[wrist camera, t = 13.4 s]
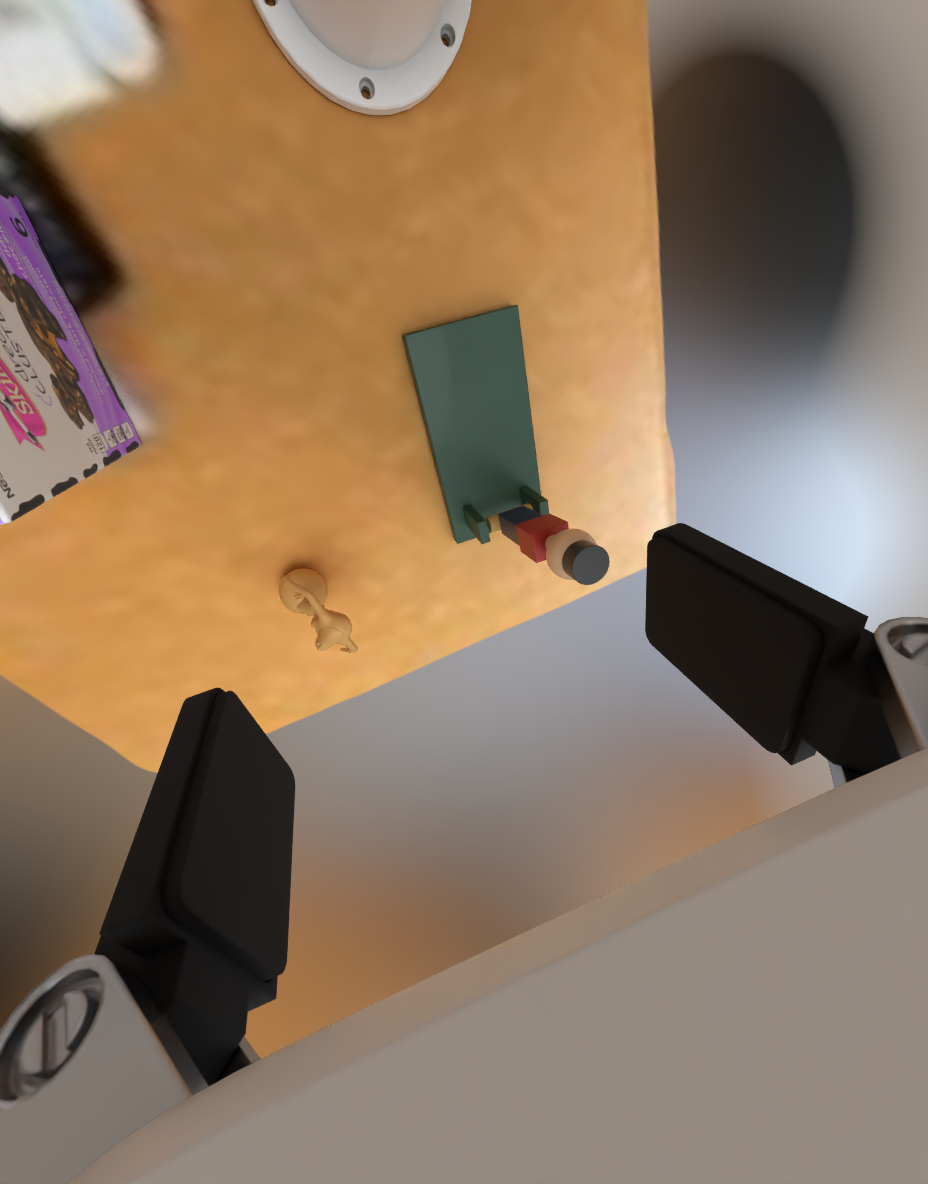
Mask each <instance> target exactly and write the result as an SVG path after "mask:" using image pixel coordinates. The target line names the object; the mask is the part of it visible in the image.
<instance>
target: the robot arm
mask: <svg viewBox="0 0 928 1184" xmlns="http://www.w3.org/2000/svg"><path fill="white" fill-rule="evenodd" d="M274 2H275V6H269V5H267V4H266V3H265V0H253V3H254V5H255V7H256V9H257V11H258V13H259V15H260V16H261V18H262V20H263V22H264V24H265V26H266V28H267V30H268V31H269V33H270V35H271V37H272V38H273V40H274V41H275V42H276V44H277V45H278V47H279V48H280V50H281V51H282V52H283V54H284V55H285V57H286V58H287V60H288V61H289V62H290V63H291V65H292V66H293V67H294V68H295V69H296V70H297V71H298V72H299V73H300V74H301V75H302V76H303V77H304V78H305V79H306V81H307V82H308V83H309V84H310V85H312V86H313V87H314V88H316V89H317V90H318V91H319V92H321V93H322V94H323V95H325V96H326V97H327V98H329V99H330V100H332V101H334V102H336V103H338V104H340V105H342V106H344V107H346V108H348V109H350V110H352V111H356V112H360V113H364V114H368V115H392V114H395V113H398V112H402V111H405V110H408V109H410V108H412V107H413V106H415V105H416V104H418V103H419V102H421V101H422V100H424V99H426V98H427V97H428V95H429V94H430V93H431V92H432V91H433V90H434V89H435V88H436V87H437V86H438V85H439V84H440V82H441V81H442V79H443V77H444V76H445V74H446V72H447V71H448V69H449V67H450V66H451V64H452V62H453V60H454V58H455V56H456V54H457V52H458V50H459V48H460V45H461V42H462V39H463V36H464V32H465V29H466V26H467V22H468V19H469V15H470V9H471V2H472V0H274ZM441 38H445V39H446V40H447V42H448V47H447V46H446V45H444V44H443V42H442V40H441ZM362 90H367V91H368V93H369V95H370V98H369V99H366V98H364V97H363V96H362V93H361V92H362ZM867 619H868V616H866V615H864V614H862V613H860V612H858V611H856V610H854V609H852V608H850V607H848V606H846V605H844V604H842V603H840V602H838V601H836V600H834V599H832V598H830V597H828V596H826V595H824V594H822V593H820V592H818V591H816V590H814V589H813V588H811V587H809V586H807V585H804V584H803V583H801V582H799V581H797V580H795V579H793V578H791V577H789V576H787V575H785V574H783V573H781V572H779V571H777V570H775V569H773V568H771V567H769V566H767V565H765V564H763V563H761V562H759V561H757V560H755V559H753V558H751V557H749V556H747V555H745V554H743V553H741V552H739V551H737V550H735V549H734V548H732V547H730V546H727V545H726V544H724V543H721V542H720V541H718V540H716V539H714V538H712V537H710V536H708V535H706V534H704V533H702V532H700V531H698V530H696V529H694V528H692V527H690V526H688V525H686V524H683V523H678V524H675V525H672V526H670V527H667V528H664V529H661V530H658V531H656V532H655V533H654V535H653V537H652V540H650V541H649V543H648V546H647V583H646V624H645V631H646V636H647V638H648V640H649V642H650V643H651V644H652V646H654V647H655V648H656V649H657V650H658V651H659V652H660V653H661V654H662V655H663V656H664V657H665V658H667V659H668V660H669V661H670V662H671V663H672V664H673V665H674V666H675V667H676V668H678V669H679V670H680V671H681V672H682V673H683V674H684V675H685V676H686V677H687V678H688V679H690V680H691V681H692V682H693V683H694V684H695V685H696V686H697V687H698V688H699V689H700V690H701V691H703V692H704V693H705V694H706V695H707V696H708V697H709V698H710V699H711V700H712V701H713V702H714V703H716V704H717V705H718V706H719V707H720V708H721V709H722V710H723V711H724V712H725V713H726V714H728V715H729V716H730V717H731V718H732V719H733V720H734V721H735V722H736V723H737V724H739V725H740V726H741V727H742V728H743V729H744V730H745V731H746V732H747V733H748V734H749V735H750V736H752V737H753V738H754V739H755V740H756V741H757V742H758V743H759V744H760V745H761V746H762V747H764V748H765V749H766V750H768V751H770V752H772V753H778V754H779V755H781V756H782V757H783V758H784V759H785V760H786V761H787V762H788V763H789V764H790V765H794V764H796V763H798V762H800V761H802V760H805V759H807V758H809V757H811V756H813V755H815V753H816V750H817V751H818V752H819V753H820V754H822V755H823V756H824V757H825V758H827V759H828V763H829V767H830V771H831V775H832V779H833V783H834V787H835V788H834V789H832V790H830V791H828V792H826V793H823V794H821V795H819V796H817V797H815V798H813V799H810V800H808V801H806V802H804V803H802V804H800V805H797V806H795V807H793V808H791V809H789V810H787V811H784V812H782V813H780V814H778V815H776V816H774V817H771V818H769V819H767V820H765V821H763V822H761V823H758V824H756V825H754V826H752V827H750V828H747V829H745V830H743V831H741V832H739V833H737V834H734V835H732V836H730V837H728V838H726V839H724V840H721V841H719V842H717V843H715V844H713V845H711V846H709V847H706V848H704V849H702V850H700V851H698V852H695V853H694V854H691V855H689V856H687V857H685V858H683V859H680V860H678V861H676V862H674V863H672V864H670V865H668V866H666V867H664V868H661V869H659V870H657V871H655V872H653V873H651V874H648V875H646V876H644V877H642V878H640V879H638V880H635V881H634V882H631V883H629V884H627V885H625V886H623V887H620V888H618V889H616V890H614V891H612V892H610V893H608V894H606V895H603V896H601V897H599V898H597V899H595V900H593V901H590V902H588V903H586V904H584V905H582V906H580V907H578V908H576V909H573V910H571V911H569V912H567V913H565V914H563V915H561V916H558V917H557V918H554V919H552V920H550V921H548V922H546V923H543V924H541V925H539V926H537V927H535V928H533V929H531V930H529V931H526V932H524V933H522V934H520V935H518V936H516V937H514V938H512V939H509V940H508V941H505V942H503V943H501V944H499V945H497V946H495V947H493V948H491V949H488V950H486V951H484V952H482V953H480V954H478V955H476V956H473V957H471V958H469V959H467V960H465V961H463V962H461V963H459V964H457V965H454V966H452V967H450V968H448V969H446V970H444V971H442V972H440V973H438V974H435V975H433V976H431V977H429V978H427V979H425V980H423V981H421V982H419V983H417V984H414V985H412V986H410V987H408V988H406V989H404V990H402V991H400V992H398V993H396V994H393V995H391V996H389V997H387V998H385V999H383V1000H381V1001H378V1002H376V1003H374V1004H372V1005H370V1006H368V1007H366V1008H364V1009H361V1010H359V1011H357V1012H355V1013H353V1014H351V1015H349V1016H347V1017H345V1018H343V1019H341V1020H339V1021H337V1022H335V1023H333V1024H331V1025H329V1026H327V1027H325V1028H323V1029H321V1030H319V1031H317V1032H315V1033H313V1034H311V1035H309V1036H307V1037H305V1038H303V1039H301V1040H299V1041H297V1042H295V1043H293V1044H291V1045H289V1046H286V1047H285V1048H283V1049H280V1050H278V1051H276V1052H274V1053H272V1054H270V1055H269V1056H266V1057H264V1058H262V1059H260V1057H259V1056H258V1055H257V1053H256V1052H255V1050H254V1049H253V1048H252V1047H251V1045H250V1044H249V1042H248V1041H247V1040H246V1039H245V1037H244V1035H245V1033H246V1023H247V1013H248V1011H250V1010H252V1009H255V1008H257V1007H259V1006H261V1005H263V1004H266V1003H268V1002H270V1001H272V1000H274V999H276V993H277V976H278V975H280V974H282V973H283V972H284V970H285V967H286V963H287V948H288V928H289V907H290V905H289V904H290V886H291V864H292V843H293V821H294V800H295V779H294V775H293V772H292V770H291V768H290V767H289V765H288V764H287V763H286V761H285V760H284V759H283V757H282V756H281V755H280V753H279V752H278V751H277V749H276V748H275V746H274V745H273V744H272V742H271V741H270V740H269V738H268V737H267V736H266V734H265V733H264V732H263V730H262V729H261V727H260V726H259V725H258V723H257V722H256V721H255V719H254V718H253V717H252V715H251V714H250V713H249V711H248V710H247V709H246V707H245V706H244V705H243V703H242V702H241V700H240V699H239V698H238V696H237V695H236V694H235V693H234V692H232V691H227V692H225V691H224V690H222V689H221V688H214V689H211V690H208V691H206V692H203V693H200V694H197V695H194V696H192V697H189V698H187V699H186V700H185V701H184V703H183V705H182V708H181V711H180V713H179V716H178V719H177V722H176V724H175V727H174V730H173V733H172V735H171V738H170V741H169V744H168V746H167V749H166V752H165V755H164V757H163V760H162V763H161V766H160V768H159V771H158V774H157V777H156V779H155V782H154V785H153V788H152V790H151V793H150V796H149V799H148V801H147V804H146V807H145V810H144V813H143V815H142V818H141V821H140V823H139V827H138V829H137V832H136V834H135V837H134V841H133V843H132V845H131V848H130V851H129V854H128V856H127V859H126V862H125V865H124V868H123V870H122V873H121V876H120V879H119V881H118V884H117V887H116V889H115V892H114V895H113V898H112V901H111V903H110V906H109V909H108V911H107V914H106V917H105V920H104V922H103V925H102V928H101V931H100V933H99V934H100V935H101V937H100V940H99V943H98V945H97V948H96V951H95V954H89V955H86V956H83V957H80V958H77V959H74V960H72V961H70V962H69V963H67V964H65V965H64V966H62V967H60V968H59V969H58V970H56V971H54V972H53V973H52V974H51V975H49V976H48V977H47V978H46V979H45V980H43V981H42V982H41V983H40V984H39V985H38V986H36V987H35V988H34V989H33V990H32V991H31V992H30V994H29V995H28V996H27V997H26V998H25V999H24V1000H23V1001H22V1002H21V1004H20V1005H19V1006H18V1007H17V1008H16V1009H15V1010H14V1012H13V1013H12V1014H11V1016H10V1017H9V1019H8V1020H7V1022H6V1023H5V1024H4V1026H3V1027H2V1029H1V1030H0V1184H928V618H922V617H901V618H896V619H891V620H888V621H886V622H884V623H882V624H880V625H879V626H878V628H877V629H876V631H875V633H872V632H870V631H868V630H866V629H864V627H865V624H866V621H867Z"/></svg>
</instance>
